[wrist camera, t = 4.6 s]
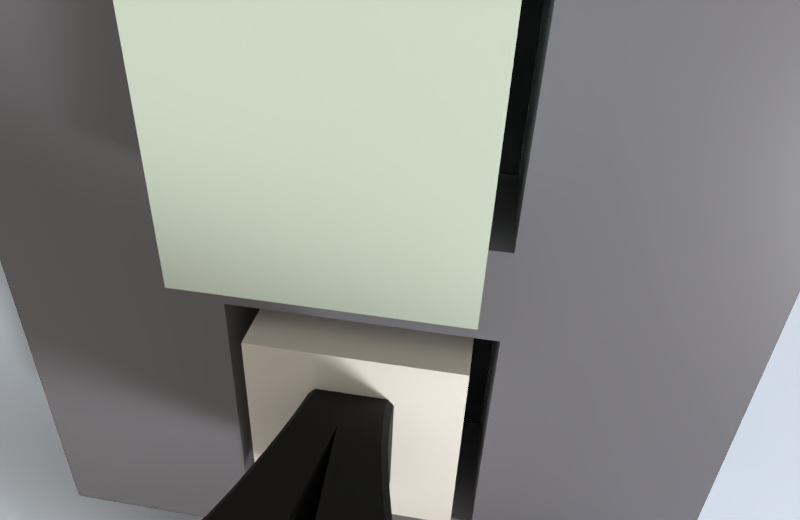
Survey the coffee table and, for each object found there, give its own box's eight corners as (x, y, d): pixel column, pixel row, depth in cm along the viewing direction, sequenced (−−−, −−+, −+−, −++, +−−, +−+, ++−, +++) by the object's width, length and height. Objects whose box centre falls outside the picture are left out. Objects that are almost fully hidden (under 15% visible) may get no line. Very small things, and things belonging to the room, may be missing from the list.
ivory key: (463, 411, 15) (449, 523, 12) (300, 387, 15) (258, 491, 13) (481, 272, 13) (469, 375, 10) (293, 249, 13) (240, 342, 11)
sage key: (490, 208, 10) (477, 329, 7) (249, 180, 10) (164, 287, 8) (527, -70, 8) (523, -20, 5) (224, -89, 8) (102, -52, 6)
